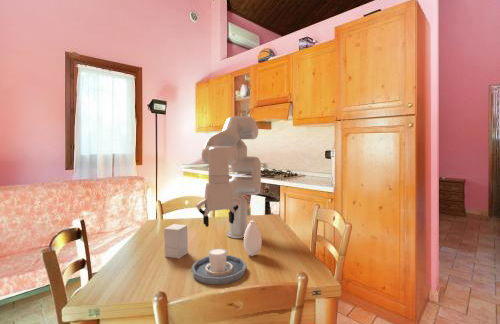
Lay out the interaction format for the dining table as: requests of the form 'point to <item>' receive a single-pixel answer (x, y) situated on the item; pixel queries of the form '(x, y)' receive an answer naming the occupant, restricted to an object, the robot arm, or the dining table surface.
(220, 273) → the round tray
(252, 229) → the air blower bulb
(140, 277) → the dining table surface
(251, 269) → the dining table surface
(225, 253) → the pale cup
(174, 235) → the supplement box
